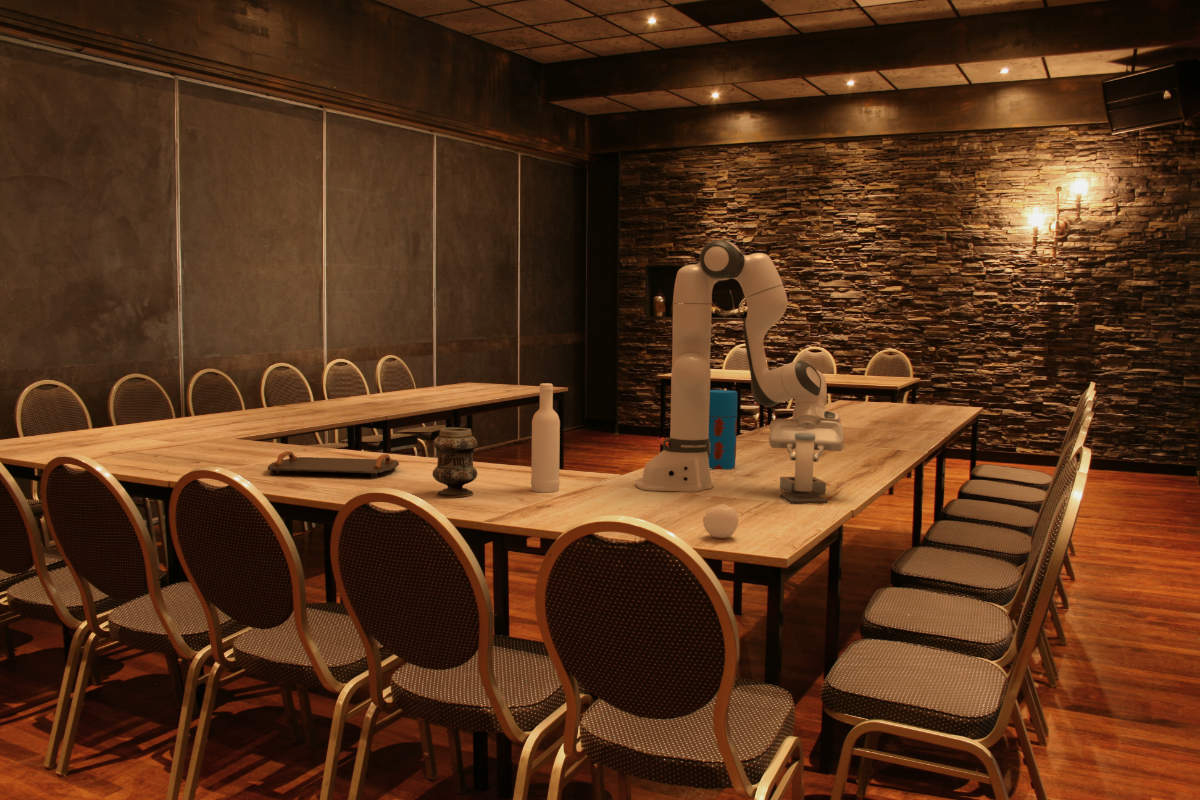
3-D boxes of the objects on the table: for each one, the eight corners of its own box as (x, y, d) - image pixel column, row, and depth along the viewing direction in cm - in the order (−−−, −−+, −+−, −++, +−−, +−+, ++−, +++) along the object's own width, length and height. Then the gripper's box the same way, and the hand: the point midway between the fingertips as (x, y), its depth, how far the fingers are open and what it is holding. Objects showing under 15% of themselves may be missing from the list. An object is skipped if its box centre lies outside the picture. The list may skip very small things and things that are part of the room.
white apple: (727, 533, 224) (728, 499, 223) (744, 540, 217) (746, 506, 216) (696, 535, 221) (697, 502, 220) (713, 543, 214) (714, 508, 213)
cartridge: (797, 491, 262) (798, 435, 260) (790, 488, 267) (792, 433, 266) (816, 491, 262) (818, 435, 261) (809, 488, 268) (811, 433, 267)
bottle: (555, 493, 269) (556, 385, 266) (527, 491, 270) (528, 384, 268) (562, 488, 277) (563, 383, 274) (535, 486, 278) (536, 382, 276)
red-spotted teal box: (734, 470, 313) (736, 393, 310) (700, 469, 315) (702, 392, 313) (736, 465, 323) (738, 390, 321) (704, 463, 325) (706, 389, 323)
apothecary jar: (484, 491, 269) (484, 427, 268) (466, 499, 258) (466, 432, 256) (443, 489, 273) (444, 425, 271) (425, 496, 261) (424, 430, 260)
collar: (791, 495, 272) (791, 482, 271) (779, 488, 282) (780, 476, 281) (825, 494, 273) (825, 482, 273) (813, 488, 283) (813, 476, 283)
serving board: (257, 477, 289) (257, 457, 288) (289, 465, 312) (288, 446, 311) (384, 481, 286) (384, 460, 285) (407, 468, 309) (407, 449, 308)
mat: (791, 503, 259) (791, 500, 259) (779, 496, 269) (779, 493, 269) (827, 503, 261) (827, 500, 261) (814, 496, 271) (814, 493, 271)
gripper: (770, 411, 272) (764, 450, 264) (845, 414, 267) (842, 454, 258) (771, 425, 277) (766, 464, 269) (845, 429, 271) (842, 468, 263)
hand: (804, 459), depth 263 cm, fingers closed on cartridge, 5 cm apart
